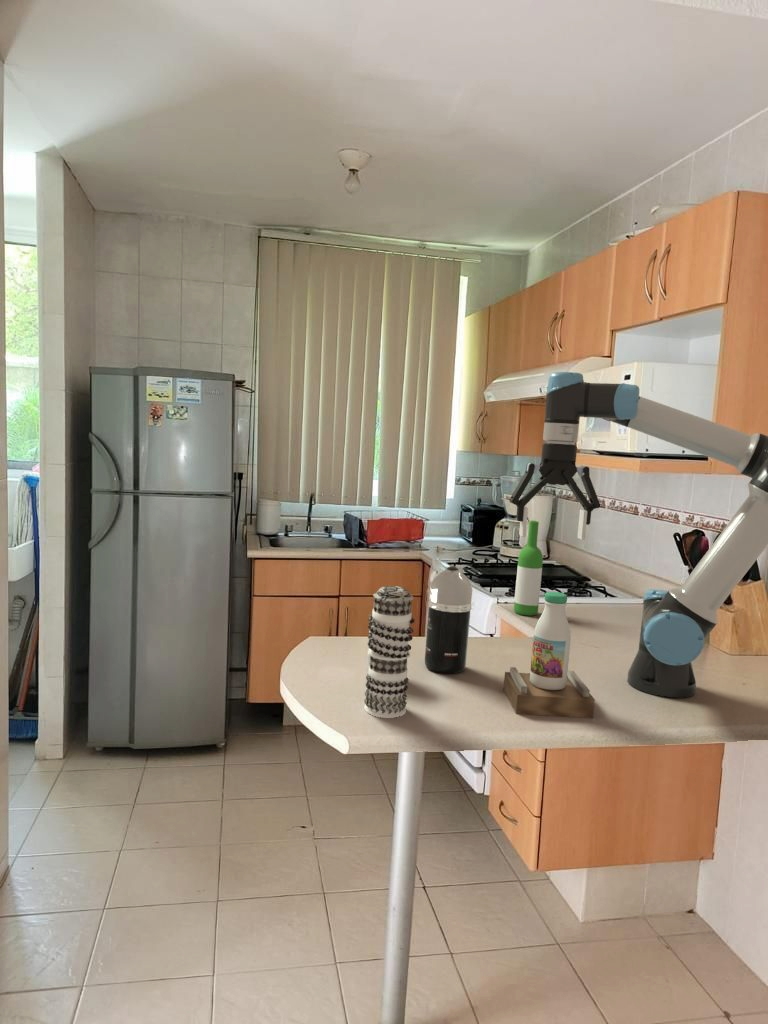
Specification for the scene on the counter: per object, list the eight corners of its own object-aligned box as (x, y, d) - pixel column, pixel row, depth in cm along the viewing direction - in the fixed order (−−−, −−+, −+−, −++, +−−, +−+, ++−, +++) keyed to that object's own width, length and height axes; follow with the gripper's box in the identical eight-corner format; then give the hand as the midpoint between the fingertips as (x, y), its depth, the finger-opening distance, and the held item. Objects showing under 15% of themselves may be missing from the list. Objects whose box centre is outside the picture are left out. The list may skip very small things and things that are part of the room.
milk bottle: (539, 676, 162) (548, 588, 160) (572, 685, 157) (581, 594, 155) (522, 684, 156) (531, 592, 154) (555, 694, 151) (564, 599, 149)
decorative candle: (379, 697, 154) (387, 581, 151) (416, 709, 148) (425, 589, 146) (353, 709, 146) (361, 587, 143) (391, 722, 141) (400, 596, 138)
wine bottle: (509, 610, 238) (517, 519, 234) (531, 610, 240) (540, 520, 236) (519, 616, 230) (527, 522, 227) (541, 616, 232) (550, 523, 229)
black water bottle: (428, 675, 170) (436, 569, 167) (419, 660, 180) (427, 561, 177) (471, 675, 171) (480, 571, 168) (459, 661, 181) (468, 562, 178)
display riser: (573, 693, 164) (576, 669, 164) (592, 717, 150) (595, 692, 150) (503, 689, 164) (505, 665, 163) (515, 713, 150) (518, 687, 149)
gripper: (509, 440, 157) (501, 537, 160) (620, 446, 160) (611, 542, 162) (500, 439, 165) (493, 532, 167) (607, 445, 167) (599, 537, 169)
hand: (551, 537), depth 165 cm, fingers open, 13 cm apart
